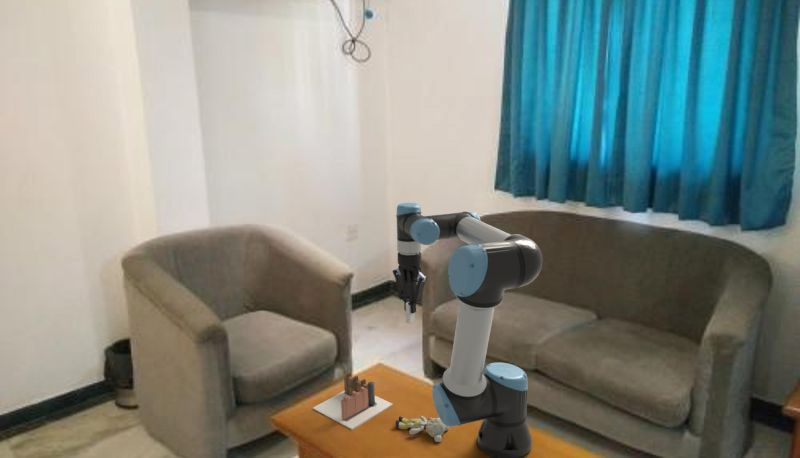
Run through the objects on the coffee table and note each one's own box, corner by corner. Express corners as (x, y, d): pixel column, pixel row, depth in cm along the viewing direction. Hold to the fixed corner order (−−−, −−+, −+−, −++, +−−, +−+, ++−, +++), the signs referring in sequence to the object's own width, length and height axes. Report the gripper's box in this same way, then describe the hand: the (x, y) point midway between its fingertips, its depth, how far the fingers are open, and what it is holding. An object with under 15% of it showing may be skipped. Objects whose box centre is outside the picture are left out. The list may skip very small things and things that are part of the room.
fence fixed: (376, 405, 188) (375, 383, 186) (371, 407, 187) (371, 385, 185) (348, 391, 197) (347, 370, 195) (343, 394, 195) (342, 372, 193)
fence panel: (365, 405, 187) (364, 385, 185) (368, 406, 186) (367, 386, 184) (341, 418, 180) (340, 397, 179) (344, 419, 179) (343, 399, 178)
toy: (402, 406, 181) (448, 411, 174) (405, 422, 182) (450, 428, 175) (390, 421, 173) (438, 427, 166) (393, 438, 174) (440, 445, 168)
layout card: (392, 404, 188) (392, 403, 188) (352, 429, 175) (352, 428, 175) (353, 386, 200) (353, 385, 200) (312, 408, 187) (312, 407, 187)
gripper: (432, 252, 184) (433, 322, 190) (401, 245, 193) (403, 313, 199) (417, 258, 179) (418, 330, 185) (386, 250, 187) (387, 319, 193)
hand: (410, 321), depth 192 cm, fingers closed
